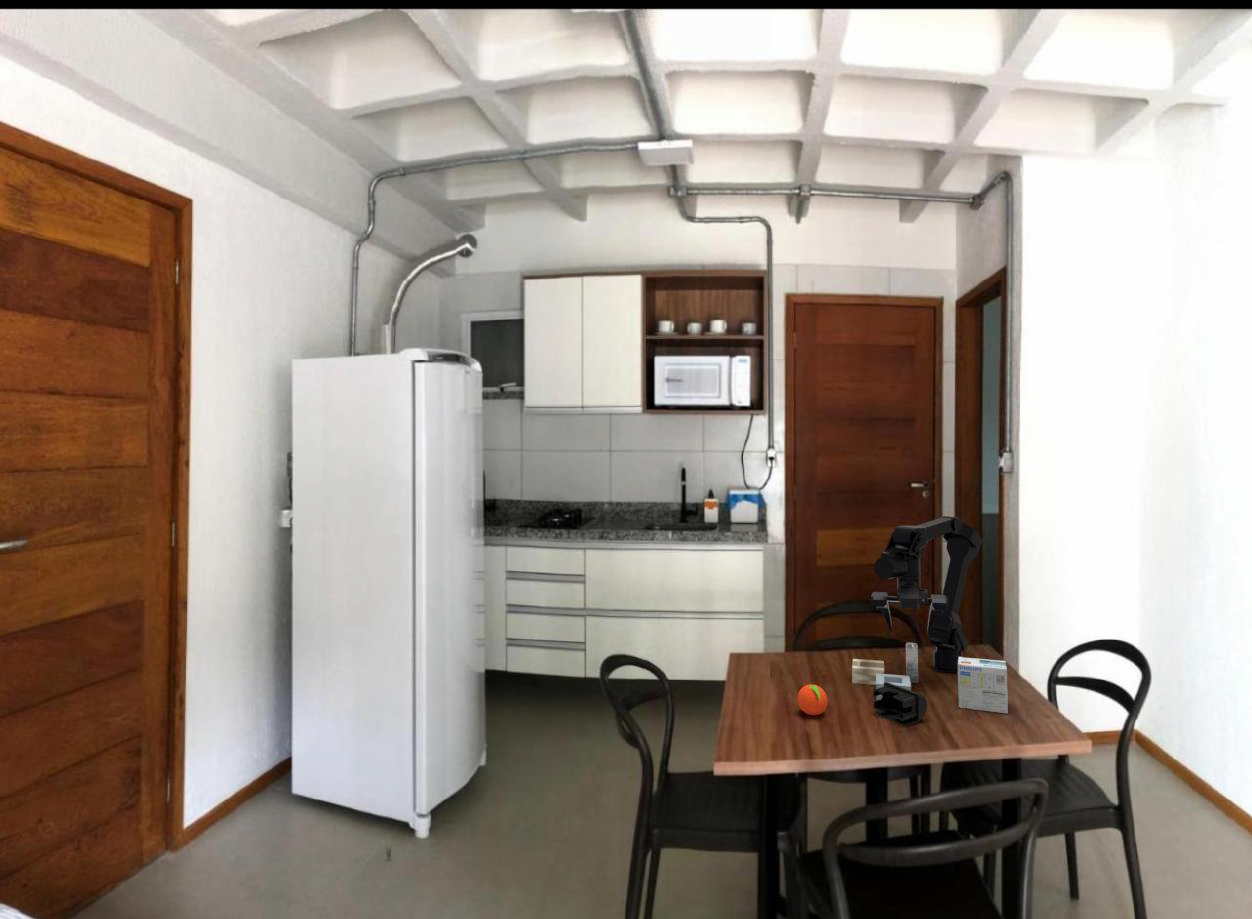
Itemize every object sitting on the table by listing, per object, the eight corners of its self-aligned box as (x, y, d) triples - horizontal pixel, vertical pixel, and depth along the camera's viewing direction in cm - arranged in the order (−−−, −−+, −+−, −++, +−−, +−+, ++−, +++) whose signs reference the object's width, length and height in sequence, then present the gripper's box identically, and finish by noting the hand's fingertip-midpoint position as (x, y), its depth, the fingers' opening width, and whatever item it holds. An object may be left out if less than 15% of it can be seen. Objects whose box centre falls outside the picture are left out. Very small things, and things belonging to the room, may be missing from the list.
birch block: (884, 675, 196) (883, 661, 196) (884, 685, 189) (884, 670, 189) (853, 673, 199) (852, 658, 199) (852, 683, 191) (852, 668, 191)
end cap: (928, 721, 165) (927, 692, 165) (906, 728, 162) (905, 698, 162) (893, 707, 174) (892, 679, 174) (871, 713, 171) (871, 685, 170)
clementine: (835, 720, 167) (834, 690, 167) (806, 723, 166) (806, 692, 166) (820, 707, 175) (819, 678, 175) (793, 710, 174) (792, 680, 173)
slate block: (909, 691, 184) (909, 676, 184) (911, 702, 176) (911, 686, 176) (876, 688, 187) (876, 673, 186) (876, 699, 179) (876, 683, 179)
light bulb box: (1007, 704, 174) (1006, 660, 174) (1008, 714, 168) (1008, 668, 167) (958, 698, 178) (957, 655, 178) (957, 708, 172) (957, 663, 172)
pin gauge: (918, 680, 192) (917, 643, 192) (918, 684, 189) (918, 646, 189) (905, 679, 193) (905, 642, 193) (906, 683, 190) (905, 645, 190)
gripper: (870, 579, 186) (871, 639, 186) (949, 582, 179) (950, 644, 180) (871, 570, 196) (872, 628, 197) (946, 573, 190) (947, 632, 190)
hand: (909, 633), depth 191 cm, fingers open, 9 cm apart
